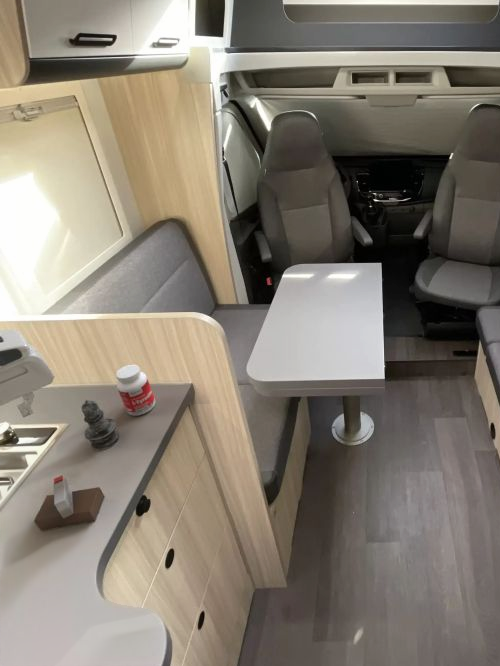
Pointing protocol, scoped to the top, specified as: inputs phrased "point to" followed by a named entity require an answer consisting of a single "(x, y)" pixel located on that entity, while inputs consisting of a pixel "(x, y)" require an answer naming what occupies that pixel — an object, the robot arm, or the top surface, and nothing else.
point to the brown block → (83, 510)
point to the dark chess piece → (99, 427)
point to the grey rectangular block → (63, 496)
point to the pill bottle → (135, 390)
